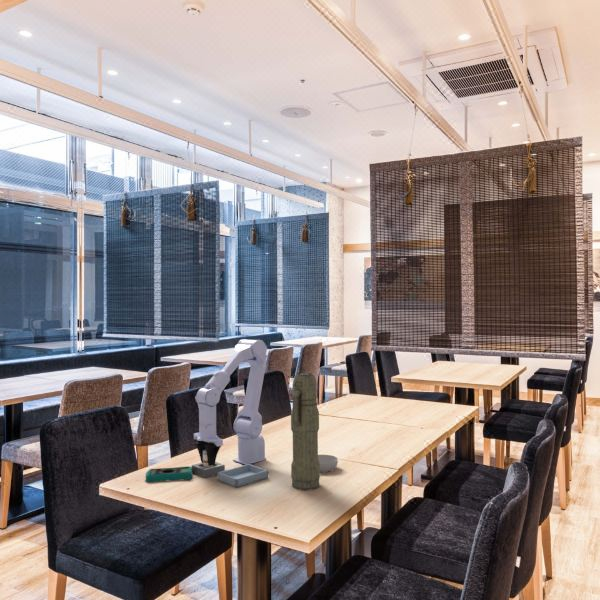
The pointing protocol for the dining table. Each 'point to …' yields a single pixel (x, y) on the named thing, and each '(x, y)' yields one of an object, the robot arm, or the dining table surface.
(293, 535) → the dining table surface
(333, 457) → the small pan
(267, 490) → the dining table surface
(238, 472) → the parts tray
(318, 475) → the thermos
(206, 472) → the fuse block
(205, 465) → the cylinder
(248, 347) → the robot arm
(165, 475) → the digital multimeter
